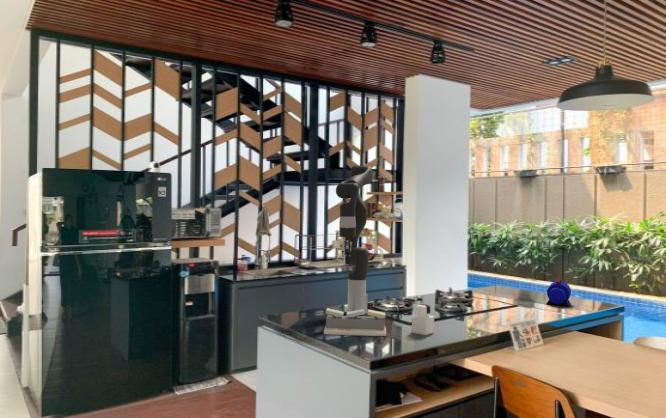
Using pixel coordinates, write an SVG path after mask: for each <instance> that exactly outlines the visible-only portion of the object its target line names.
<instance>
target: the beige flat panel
mask: <svg viewBox="0 0 666 418" xmlns="http://www.w3.org/2000/svg"><path fill="white" fill-rule="evenodd" d="M366 314H367V316H370V317H374V318H375V319H377V318H378V317H381V318H384V319H386V312H383V311H377V310H374V309H373V310H372V309H368V308H367V313H366Z"/></svg>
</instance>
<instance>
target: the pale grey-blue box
mask: <svg viewBox="0 0 666 418" xmlns="http://www.w3.org/2000/svg"><path fill="white" fill-rule="evenodd" d="M345 316H347V317H353V316H354V317H355V318H357V317H358V316H365V314H364V309H361V310H356V311H350V312H347V311H346V315H345Z"/></svg>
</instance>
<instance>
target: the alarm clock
mask: <svg viewBox="0 0 666 418" xmlns="http://www.w3.org/2000/svg"><path fill="white" fill-rule="evenodd" d="M546 290H547V291H546V296H547V298H548V301H546V305H548V304H549V305H550V304H554V305H564V306H566V307H568V308H570V306H571V305H572V303H571V301H570V300H569V299H570V296H571V294H572V289H571V287H570V285H569V284H568V283H567V282H565V281H563V280H562V278H560V277H558V279H557V280H555V281H552V283H550V284H549V287H548V288H547V289H546Z"/></svg>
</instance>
